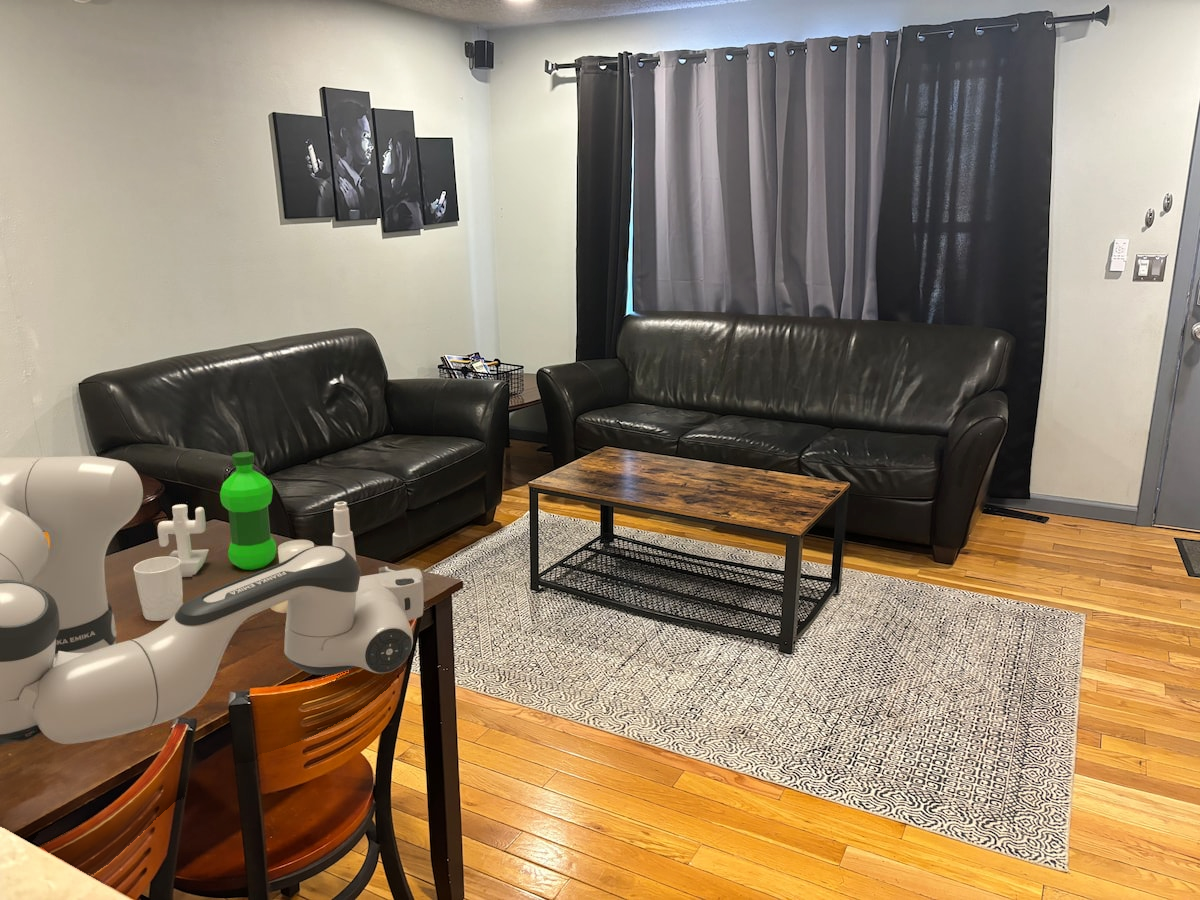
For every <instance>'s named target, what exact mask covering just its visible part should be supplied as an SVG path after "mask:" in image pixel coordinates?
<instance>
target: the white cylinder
mask: <svg viewBox="0 0 1200 900" xmlns="http://www.w3.org/2000/svg"><path fill="white" fill-rule="evenodd" d="M312 547H315V543H314V542H313V541H311V540H308V539H293V540H288V541H284V542H283V543H280V544H279V545H278V546H277V555H278V564H280V563H282V562H284V561H286V560H288V559H290V558H291V557H293V556H295V555H296V554H298V553H300V552H302V551H304V550H306V549H309V548H312Z"/></svg>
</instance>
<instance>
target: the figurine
mask: <svg viewBox="0 0 1200 900" xmlns="http://www.w3.org/2000/svg"><path fill="white" fill-rule="evenodd" d="M171 509H172V510H171V512H172V516H173V518H172V520H162V521H159V522H158V525H157V536H158V544H159V546H160V547H161V548H164V547H165V548H166V547H167V546H168V545H169V535H175V540H176V548H177V549H175V550H172V552H170V554H169V555H168V556H167V557H176V558H178V559H180V561H181V573H182V578H187V577H189V578H191V577H193V575H197V573H198V571H199V570H200V569H201V568H202V567H203V566H204V564H205V561H206V558H207V555H208V553H209V551H210V550H209V549H192V544H191V534H203V533H204V532H205V531H206V527H207V526H206V525H207V524H206V523H207V522H206V515H205V509H204V507H202V506H198V507H196V508H195V510H194V512H195V519H192V520H191V519H189V517H188V510H189V509H188V505H187V504H184V503H183V504H182V503H181V504H180V503H179V504H175V505H173V506H172V507H171Z"/></svg>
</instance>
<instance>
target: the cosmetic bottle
mask: <svg viewBox="0 0 1200 900" xmlns="http://www.w3.org/2000/svg"><path fill="white" fill-rule="evenodd" d="M347 505H348V502H346V501H337V502H334V505H333V506H334V508H333V511H332V513H333V526H334V532H333V533H332V546H336V547H340V548H343V549H344V550H346V551H347V552H348V553H349V554H350V555H351V556H352V557H353V558H354V560H355V561H356V562H357V558H356V557H357V555H356V548H355V540H354V534H353V531H352V530H351V525H350V524H351V523H350V508H349V507H348V506H347Z"/></svg>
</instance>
